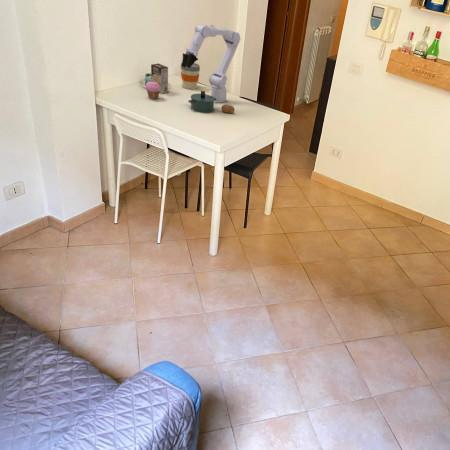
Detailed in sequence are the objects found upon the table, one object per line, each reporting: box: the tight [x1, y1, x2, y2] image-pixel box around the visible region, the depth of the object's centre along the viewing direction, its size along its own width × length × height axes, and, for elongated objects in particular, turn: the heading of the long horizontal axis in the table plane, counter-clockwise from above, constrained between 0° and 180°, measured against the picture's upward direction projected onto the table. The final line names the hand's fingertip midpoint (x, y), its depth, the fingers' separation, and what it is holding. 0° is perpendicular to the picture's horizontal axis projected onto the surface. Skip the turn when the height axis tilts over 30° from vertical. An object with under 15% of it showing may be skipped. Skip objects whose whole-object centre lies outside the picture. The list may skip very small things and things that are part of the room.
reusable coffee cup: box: [180, 62, 201, 90], centre depth 293 cm, size 13×13×15 cm
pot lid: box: [190, 90, 215, 102], centre depth 260 cm, size 14×14×5 cm
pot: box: [187, 97, 216, 113], centre depth 263 cm, size 13×19×6 cm
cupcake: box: [145, 81, 161, 100], centre depth 264 cm, size 9×9×10 cm
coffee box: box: [150, 63, 169, 94], centre depth 275 cm, size 9×6×16 cm
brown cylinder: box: [220, 104, 236, 114], centre depth 265 cm, size 8×5×5 cm, turn 91°
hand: (185, 66), depth 249 cm, fingers open, 7 cm apart
